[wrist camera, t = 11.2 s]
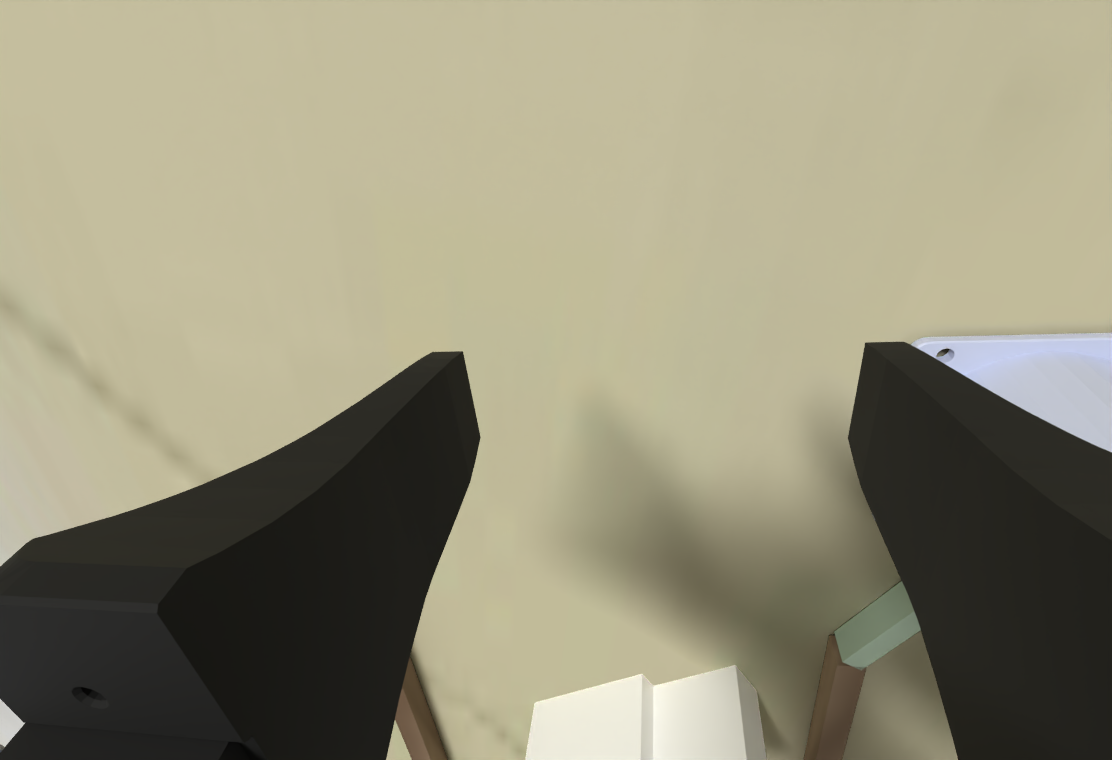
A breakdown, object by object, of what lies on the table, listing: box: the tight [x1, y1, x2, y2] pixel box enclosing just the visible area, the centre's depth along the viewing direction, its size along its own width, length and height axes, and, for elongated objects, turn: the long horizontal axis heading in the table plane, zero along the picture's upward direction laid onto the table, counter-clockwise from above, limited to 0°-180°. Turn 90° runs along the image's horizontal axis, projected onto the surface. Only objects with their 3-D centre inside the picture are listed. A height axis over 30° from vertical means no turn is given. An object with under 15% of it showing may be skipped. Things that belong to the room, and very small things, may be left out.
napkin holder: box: [525, 665, 767, 760], centre depth 31 cm, size 15×11×6 cm
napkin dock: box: [395, 581, 921, 760], centre depth 33 cm, size 28×24×2 cm
